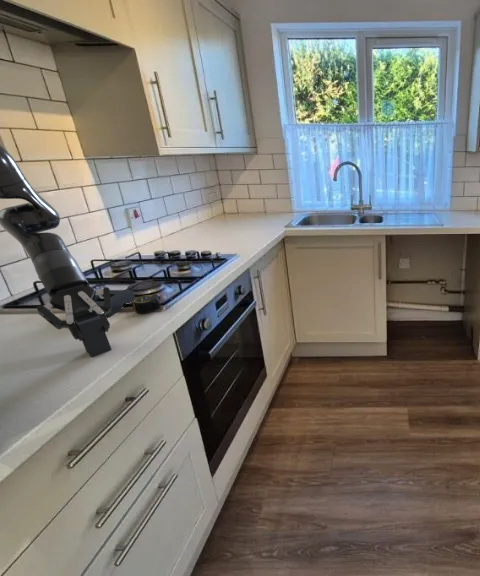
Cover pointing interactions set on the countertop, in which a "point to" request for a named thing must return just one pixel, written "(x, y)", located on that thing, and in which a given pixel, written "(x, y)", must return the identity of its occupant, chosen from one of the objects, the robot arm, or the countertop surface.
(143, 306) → the tape measure
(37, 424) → the countertop surface
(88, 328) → the pad post
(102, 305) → the base pad
